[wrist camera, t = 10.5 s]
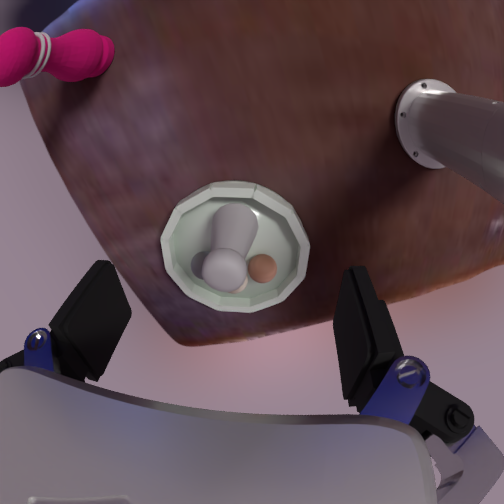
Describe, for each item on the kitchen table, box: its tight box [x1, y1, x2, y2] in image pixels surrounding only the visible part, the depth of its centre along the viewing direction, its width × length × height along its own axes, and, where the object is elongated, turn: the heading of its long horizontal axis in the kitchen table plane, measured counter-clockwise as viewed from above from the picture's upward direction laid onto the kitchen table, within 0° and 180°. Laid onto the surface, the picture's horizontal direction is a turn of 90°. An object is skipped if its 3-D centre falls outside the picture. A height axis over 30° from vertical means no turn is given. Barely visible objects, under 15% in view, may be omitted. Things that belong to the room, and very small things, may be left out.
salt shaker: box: [202, 203, 259, 292], centre depth 30 cm, size 6×6×13 cm
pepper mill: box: [0, 27, 114, 87], centre depth 16 cm, size 7×7×20 cm
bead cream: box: [228, 275, 248, 294], centre depth 39 cm, size 4×4×4 cm
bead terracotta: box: [248, 254, 277, 283], centre depth 38 cm, size 4×4×4 cm
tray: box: [160, 180, 310, 313], centre depth 38 cm, size 20×20×3 cm
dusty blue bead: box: [191, 251, 210, 280], centre depth 38 cm, size 4×4×4 cm
